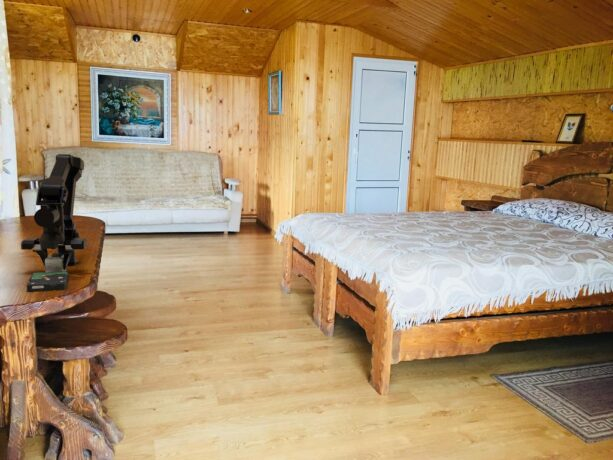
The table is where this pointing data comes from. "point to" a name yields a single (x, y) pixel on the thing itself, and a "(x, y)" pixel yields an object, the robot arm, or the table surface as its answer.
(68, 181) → the robot arm
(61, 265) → the housing
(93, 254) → the table surface
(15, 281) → the table surface
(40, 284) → the disk drive
